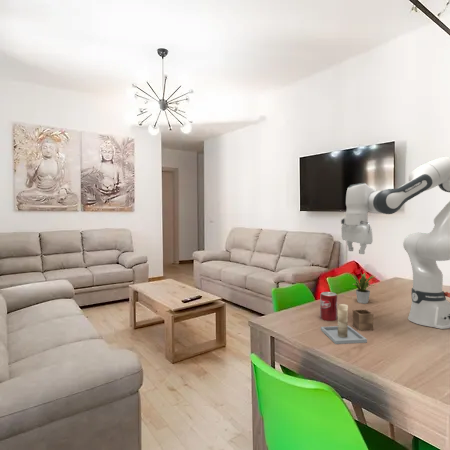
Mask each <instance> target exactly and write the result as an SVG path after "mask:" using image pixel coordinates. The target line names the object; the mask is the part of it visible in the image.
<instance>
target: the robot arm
mask: <svg viewBox="0 0 450 450" xmlns="http://www.w3.org/2000/svg"><path fill="white" fill-rule="evenodd" d="M436 187H438V188H439V189H440V190H441V191H443V192H446V193H450V157H449V156H442V157H441V156H440V157H438V158H435V159H432V160H430V161H427V162H425V163H423V164H421V165H419V166H417V167H416V168H415V169H413V170H411V171H410V172H409V174H408V182H405V183H404V184H403V185H400V186H399V187H397V188H387V189H382V190H378V189H375V188H373V187H371V186H369V185H368V184H367V183H366V182H361V183H360V182H359V183H355V184H354V183H353V184H349V186H348V187H347V188H346V189H347V190H346V194H345V206H346V211H345V216H344V217H343V218H342V219H340V224H341V227H340V228H341V239H342V240H343V241H346V244H347V245H346V246H347V251H348V252H354V246H353V243H357V244H359V246H360V249H358V254H360V255H365V253H366V252H365V250H366V248H367V245H372V243H373V231H372V230H373V228H372V226H371V224H370V223H369V222H368V218H369V215H368V213H373V214H385V215H393V214H395V213H397V212H398V211H399V210H401V208H402V207H403V205H405V203H407V202H408V201H410V200H412V199H413V198H414V197H417V196H419V195H420V194H422V193H423V192H426V191H429V190H431V189H433V188H436ZM433 225H434V226H433V228H432V230H431V231H430V232H429V233H424V232H415V233H410V234H408V235H407V236H406V237H405V238H404V240H403V242H402V243H403V244H402V245H403V246H402V247H403V249H404V251H406V253H407V255H408V257H409V261H410V263H411V264H410V265H411V269H412V288H411V292H410V293H411V306H410V311H409V314H408V317H407V320H408V321H410V322H412V323H414V324H416V325H420V326H425V327H431V328H437V329H441V330H446V329H450V301H448V300H447V298H450V292H448V291H444V290H443V282H444V281H443V277H444V275H443V272H442V270H441V269H440V268H439V266H438V264H437V262H443V261H444V262H445V261H450V201H448V203H447V204H445V206H444V207H443V208H442V209H441V210H440V211H439V212H438V213H437V214H436V216H435V217H434V218H433Z"/></svg>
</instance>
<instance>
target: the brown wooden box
mask: <svg viewBox="0 0 450 450" xmlns="http://www.w3.org/2000/svg"><path fill="white" fill-rule="evenodd" d="M352 326H353V327H352ZM352 326H351V327H352V328H355V329H356V330H357V331H359V332H361V331H362V332H366V331H374V313H372V312H371V311H369V310H368V309H352Z"/></svg>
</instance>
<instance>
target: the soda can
mask: <svg viewBox="0 0 450 450" xmlns="http://www.w3.org/2000/svg"><path fill="white" fill-rule="evenodd" d="M319 296H320V298H319V299H320V300H319V301H320V302H319V303H320V305H319V306H320V307H319V308H320V309H319V310H320V311H319V318H320V319H321V320H322V321H327V322H334V321H338V294H337V293H336V292H332V291H331V292H330V291H323V292H321V293H320V295H319Z"/></svg>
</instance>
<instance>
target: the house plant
mask: <svg viewBox="0 0 450 450" xmlns="http://www.w3.org/2000/svg"><path fill="white" fill-rule="evenodd" d="M351 274H352V277H353V279H354V280H356V281H355V283H352V285H354V286H355V287H357V289H355V294H356V300H357V303H359V304H364V305H365V304H368V303H369V299H370V295H371V294H370V293H371V291H370V290H369V289H370V287H371V284H370V283H371V280H372V281H375V279H373V278H375V274H373V275H370V276H369V277H366V272H365V271H364V273H363V274H362V272H360V274H361V275H360V276H361V277H360V278H359V279H358V278H357V276H356V275H354V274H353V273H351ZM372 287H375V284H372ZM367 288H368V289H367Z"/></svg>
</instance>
